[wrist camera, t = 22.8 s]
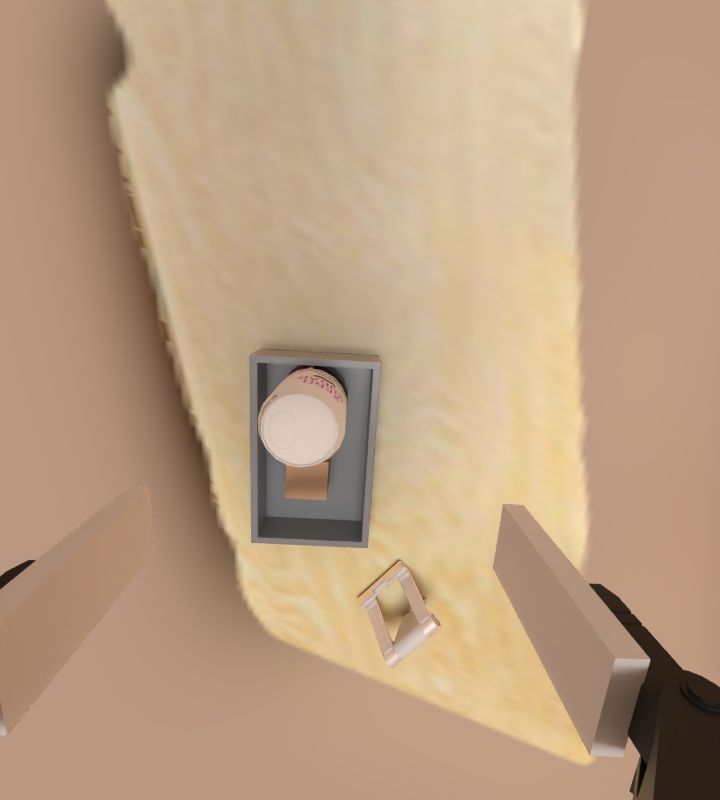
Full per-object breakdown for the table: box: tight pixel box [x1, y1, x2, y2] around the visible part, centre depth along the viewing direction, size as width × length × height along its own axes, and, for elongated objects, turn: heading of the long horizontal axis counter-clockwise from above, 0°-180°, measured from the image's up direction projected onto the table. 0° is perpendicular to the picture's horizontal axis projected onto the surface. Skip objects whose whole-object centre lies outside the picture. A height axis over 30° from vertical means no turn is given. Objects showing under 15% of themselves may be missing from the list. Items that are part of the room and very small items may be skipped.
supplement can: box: [258, 365, 348, 467], centre depth 43 cm, size 8×8×15 cm
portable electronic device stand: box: [357, 561, 441, 668], centre depth 55 cm, size 9×8×8 cm
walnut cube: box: [285, 457, 331, 500], centre depth 50 cm, size 5×5×5 cm
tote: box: [250, 349, 381, 548], centre depth 50 cm, size 24×15×6 cm, turn 177°
